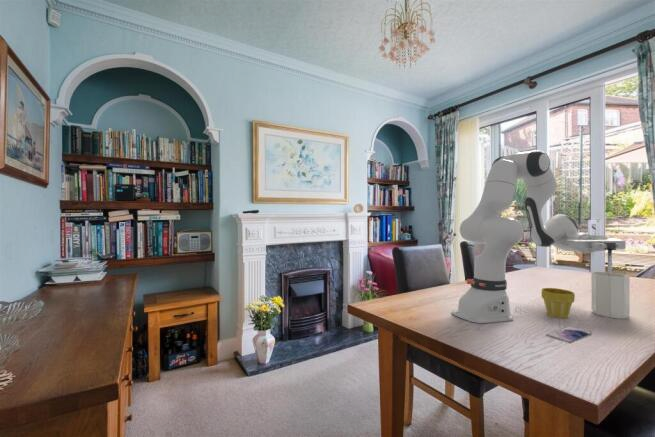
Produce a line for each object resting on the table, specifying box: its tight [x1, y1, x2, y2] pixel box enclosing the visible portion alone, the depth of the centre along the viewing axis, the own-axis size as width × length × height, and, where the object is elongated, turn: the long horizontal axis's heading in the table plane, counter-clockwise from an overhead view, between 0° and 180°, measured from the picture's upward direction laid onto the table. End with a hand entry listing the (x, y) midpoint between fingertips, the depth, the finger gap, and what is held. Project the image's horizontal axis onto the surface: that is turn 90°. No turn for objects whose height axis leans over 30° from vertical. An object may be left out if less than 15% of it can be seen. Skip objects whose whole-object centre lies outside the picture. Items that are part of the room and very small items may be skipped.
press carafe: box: [590, 271, 631, 320], centre depth 119 cm, size 13×10×16 cm
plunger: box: [604, 242, 617, 276], centre depth 118 cm, size 8×8×22 cm
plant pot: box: [541, 287, 575, 319], centre depth 117 cm, size 10×10×10 cm
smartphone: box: [545, 326, 593, 344], centre depth 98 cm, size 7×1×15 cm
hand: (611, 246), depth 117 cm, fingers closed on plunger, 4 cm apart
